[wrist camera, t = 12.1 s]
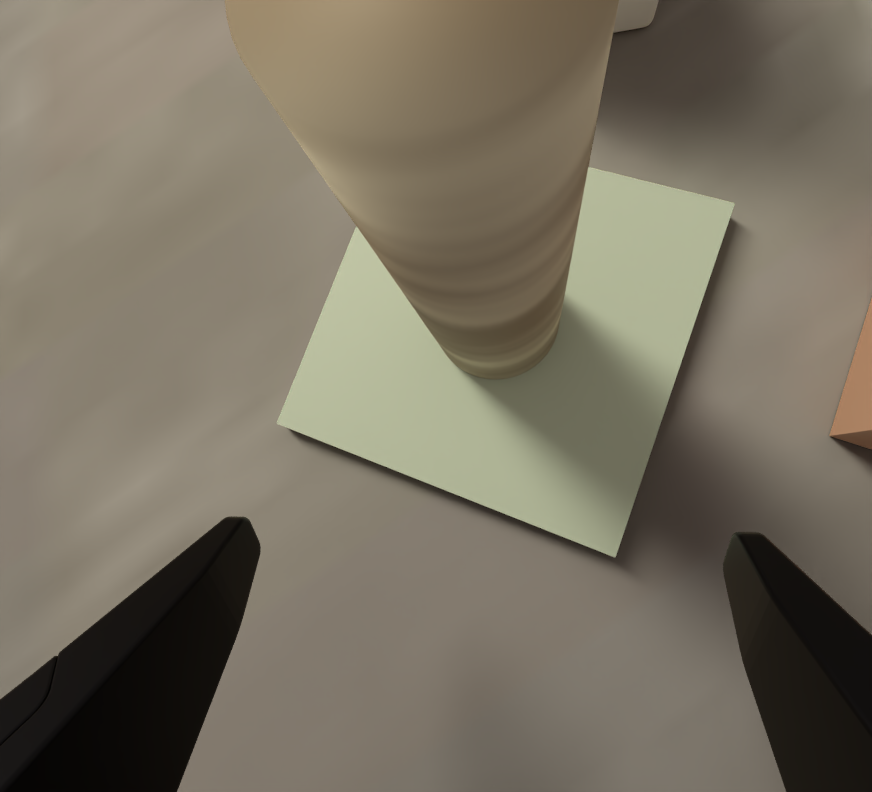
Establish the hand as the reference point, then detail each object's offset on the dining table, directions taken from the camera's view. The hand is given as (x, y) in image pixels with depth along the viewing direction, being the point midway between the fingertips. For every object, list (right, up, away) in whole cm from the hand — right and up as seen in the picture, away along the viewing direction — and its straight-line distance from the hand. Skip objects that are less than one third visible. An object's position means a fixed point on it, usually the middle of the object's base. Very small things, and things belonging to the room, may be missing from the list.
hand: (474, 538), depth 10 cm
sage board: (+2, +5, +10) cm, 12 cm away
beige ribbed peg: (+1, +5, +9) cm, 11 cm away
